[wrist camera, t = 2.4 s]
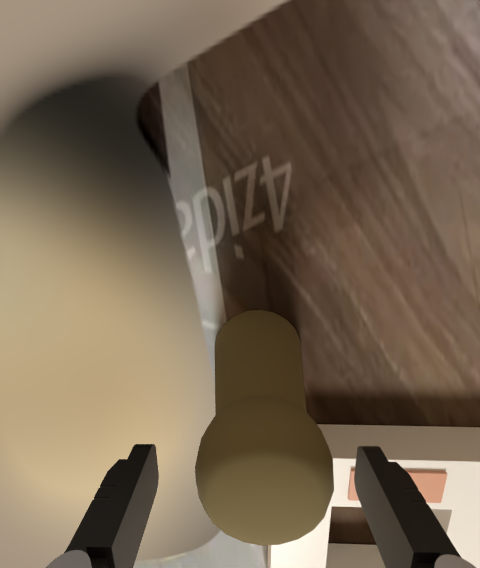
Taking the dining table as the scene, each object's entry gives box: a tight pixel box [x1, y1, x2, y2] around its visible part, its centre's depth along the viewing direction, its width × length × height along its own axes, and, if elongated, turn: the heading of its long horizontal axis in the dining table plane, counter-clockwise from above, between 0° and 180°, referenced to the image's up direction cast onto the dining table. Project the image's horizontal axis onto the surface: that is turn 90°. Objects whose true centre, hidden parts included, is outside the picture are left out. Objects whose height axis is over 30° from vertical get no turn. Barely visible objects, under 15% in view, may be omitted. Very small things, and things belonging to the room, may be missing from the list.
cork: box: [195, 310, 334, 545], centre depth 15 cm, size 6×6×11 cm
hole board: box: [267, 424, 480, 568], centre depth 22 cm, size 16×16×3 cm
